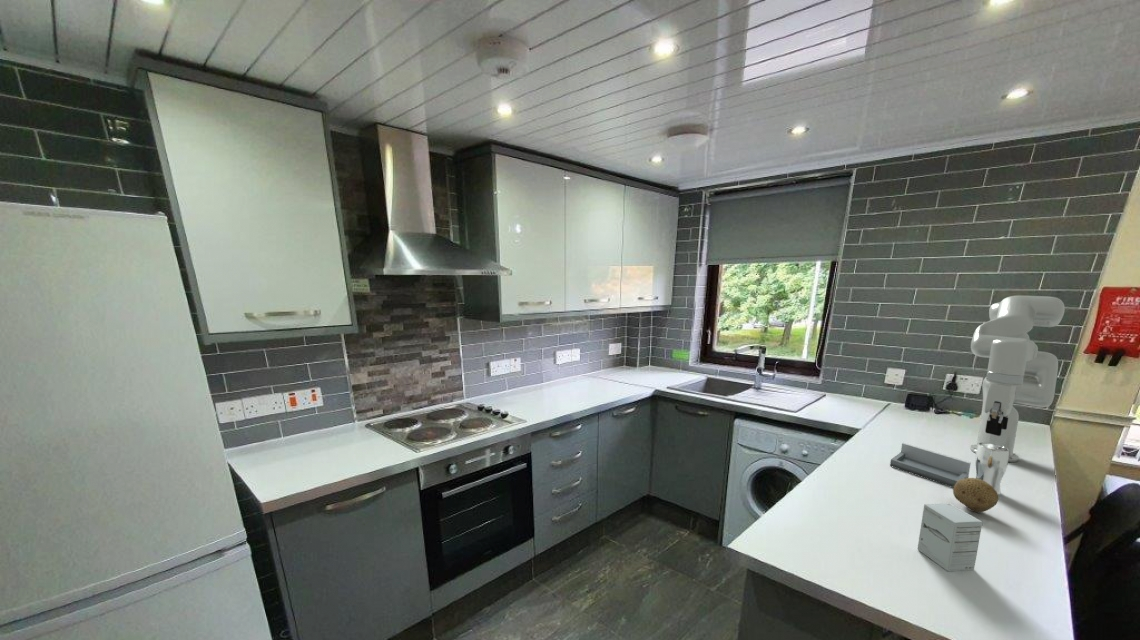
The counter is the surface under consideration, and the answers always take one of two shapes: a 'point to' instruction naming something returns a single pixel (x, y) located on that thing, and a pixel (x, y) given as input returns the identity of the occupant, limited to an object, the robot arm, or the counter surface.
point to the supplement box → (949, 536)
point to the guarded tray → (931, 465)
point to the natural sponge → (975, 494)
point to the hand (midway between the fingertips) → (995, 431)
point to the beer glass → (991, 464)
